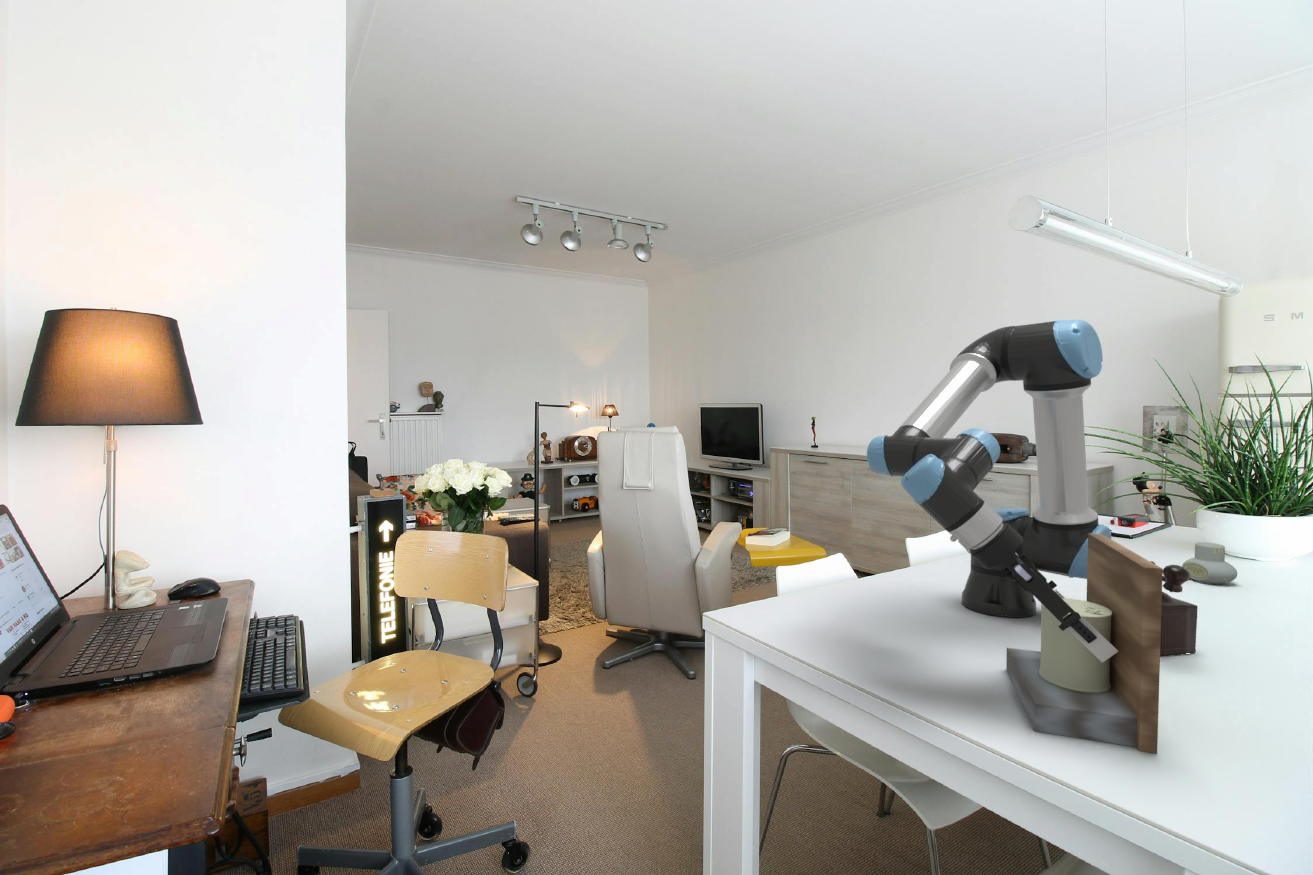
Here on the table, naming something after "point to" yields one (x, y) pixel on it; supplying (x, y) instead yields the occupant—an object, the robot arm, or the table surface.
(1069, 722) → the l-shaped bookend
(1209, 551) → the air freshener
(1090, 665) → the can
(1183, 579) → the dark brown coffee grinder
